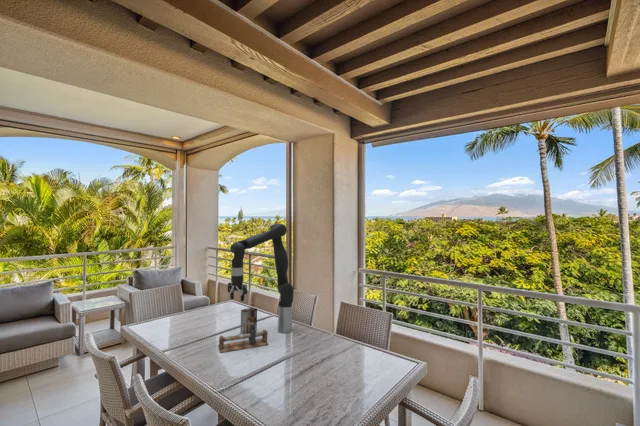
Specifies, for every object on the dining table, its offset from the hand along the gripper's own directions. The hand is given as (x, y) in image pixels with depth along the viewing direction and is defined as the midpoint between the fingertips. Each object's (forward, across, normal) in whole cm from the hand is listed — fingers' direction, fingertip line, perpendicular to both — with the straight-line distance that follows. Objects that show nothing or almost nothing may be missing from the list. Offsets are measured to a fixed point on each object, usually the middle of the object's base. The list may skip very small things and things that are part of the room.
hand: (237, 300), depth 179 cm
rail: (+26, -8, +3) cm, 27 cm away
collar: (+24, -11, -1) cm, 26 cm away
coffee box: (+26, +3, -14) cm, 30 cm away
